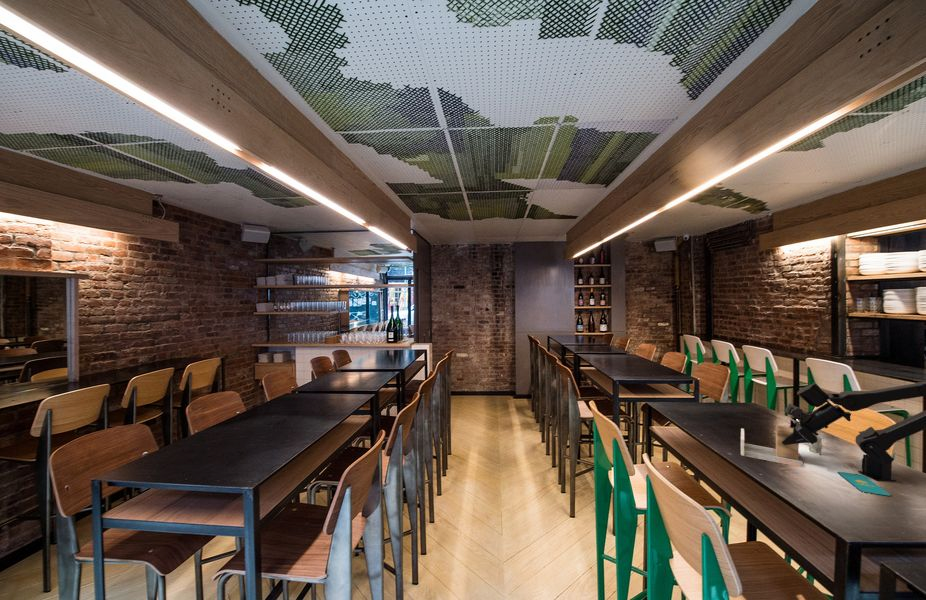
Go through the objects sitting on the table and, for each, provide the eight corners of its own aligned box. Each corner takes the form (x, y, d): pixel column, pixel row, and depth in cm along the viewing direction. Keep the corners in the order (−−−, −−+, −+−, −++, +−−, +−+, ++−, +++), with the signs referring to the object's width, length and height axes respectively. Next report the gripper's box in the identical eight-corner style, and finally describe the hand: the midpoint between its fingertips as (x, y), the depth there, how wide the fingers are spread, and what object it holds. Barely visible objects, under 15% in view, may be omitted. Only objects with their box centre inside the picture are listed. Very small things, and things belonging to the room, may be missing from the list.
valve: (827, 457, 148) (820, 447, 158) (828, 440, 148) (820, 430, 158) (804, 453, 152) (799, 443, 162) (805, 436, 152) (799, 427, 162)
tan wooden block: (796, 456, 147) (796, 428, 147) (798, 462, 141) (799, 433, 141) (775, 452, 150) (776, 425, 150) (776, 458, 145) (777, 430, 145)
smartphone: (861, 491, 122) (836, 470, 136) (861, 493, 122) (836, 473, 136) (892, 496, 119) (863, 474, 133) (892, 498, 119) (863, 477, 133)
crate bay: (799, 455, 149) (800, 438, 149) (805, 469, 137) (805, 450, 137) (740, 444, 160) (741, 428, 160) (740, 456, 148) (741, 439, 148)
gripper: (798, 393, 151) (762, 416, 157) (805, 404, 136) (764, 429, 142) (826, 417, 146) (787, 440, 153) (835, 431, 131) (792, 456, 138)
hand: (782, 440), depth 147 cm, fingers closed on tan wooden block, 6 cm apart
